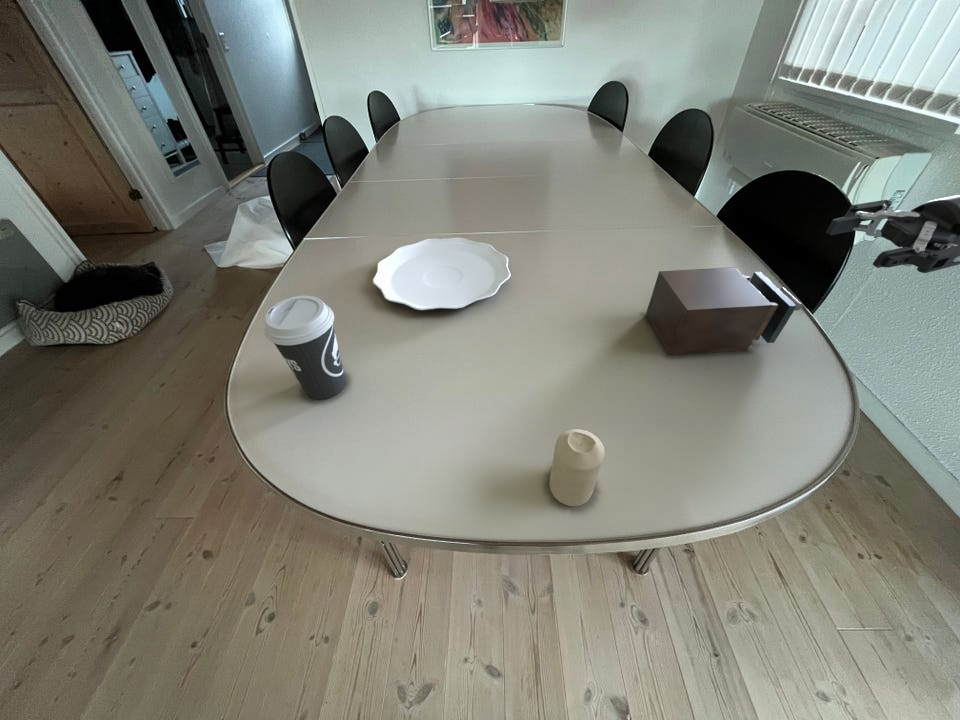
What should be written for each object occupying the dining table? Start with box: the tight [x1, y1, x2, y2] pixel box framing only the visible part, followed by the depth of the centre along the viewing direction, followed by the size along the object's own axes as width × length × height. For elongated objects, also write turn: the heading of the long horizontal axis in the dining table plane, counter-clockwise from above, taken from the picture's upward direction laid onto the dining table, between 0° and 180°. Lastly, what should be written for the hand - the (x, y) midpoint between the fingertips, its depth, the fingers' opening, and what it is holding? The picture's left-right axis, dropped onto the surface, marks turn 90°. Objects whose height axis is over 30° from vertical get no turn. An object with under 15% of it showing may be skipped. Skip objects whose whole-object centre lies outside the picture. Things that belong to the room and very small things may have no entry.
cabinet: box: [645, 266, 773, 356], centre depth 71 cm, size 14×12×10 cm
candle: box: [549, 428, 605, 507], centre depth 49 cm, size 6×6×10 cm
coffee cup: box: [263, 295, 347, 401], centre depth 62 cm, size 10×10×15 cm
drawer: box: [743, 271, 804, 344], centre depth 71 cm, size 16×10×8 cm, turn 93°
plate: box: [372, 237, 511, 312], centre depth 89 cm, size 29×29×2 cm
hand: (853, 243), depth 57 cm, fingers open, 8 cm apart
